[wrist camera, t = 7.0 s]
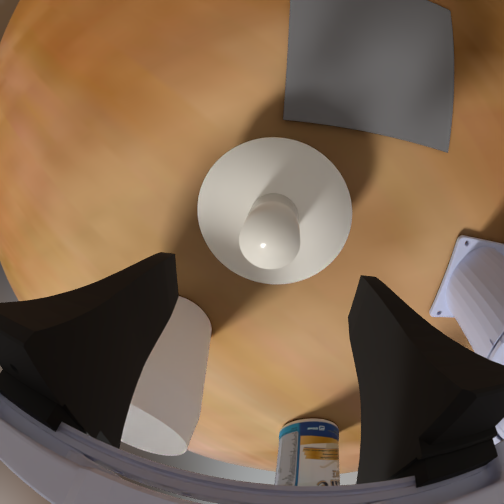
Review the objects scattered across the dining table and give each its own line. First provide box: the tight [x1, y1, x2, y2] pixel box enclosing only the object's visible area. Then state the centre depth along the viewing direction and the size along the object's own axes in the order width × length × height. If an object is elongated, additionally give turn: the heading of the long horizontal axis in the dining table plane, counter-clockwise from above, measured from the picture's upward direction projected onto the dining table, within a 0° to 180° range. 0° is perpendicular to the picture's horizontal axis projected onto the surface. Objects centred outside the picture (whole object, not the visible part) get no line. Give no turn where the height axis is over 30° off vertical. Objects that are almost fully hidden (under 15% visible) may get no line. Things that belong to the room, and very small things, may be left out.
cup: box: [121, 296, 212, 456], centre depth 20 cm, size 9×9×12 cm
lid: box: [197, 137, 352, 284], centre depth 15 cm, size 9×9×4 cm
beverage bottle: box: [274, 418, 340, 486], centre depth 23 cm, size 8×8×20 cm
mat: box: [283, 0, 454, 153], centre depth 13 cm, size 12×12×1 cm
